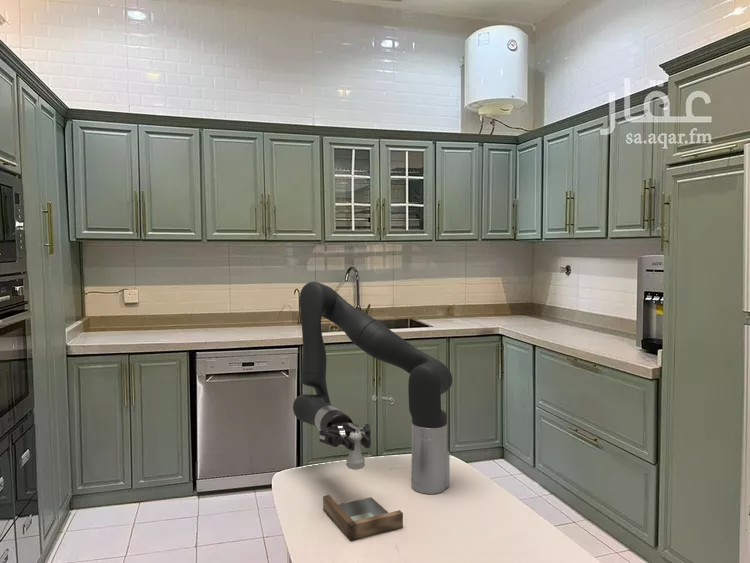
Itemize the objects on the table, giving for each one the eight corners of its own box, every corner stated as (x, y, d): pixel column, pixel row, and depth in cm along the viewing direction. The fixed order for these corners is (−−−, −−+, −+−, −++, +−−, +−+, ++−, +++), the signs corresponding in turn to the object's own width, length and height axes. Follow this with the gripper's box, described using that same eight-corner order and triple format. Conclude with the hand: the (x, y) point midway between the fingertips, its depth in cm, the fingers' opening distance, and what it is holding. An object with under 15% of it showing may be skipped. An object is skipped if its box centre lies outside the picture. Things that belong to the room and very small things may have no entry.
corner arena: (371, 499, 137) (371, 485, 137) (402, 528, 123) (402, 512, 123) (323, 510, 131) (323, 495, 131) (350, 541, 117) (350, 525, 117)
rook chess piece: (362, 471, 126) (362, 436, 125) (343, 469, 127) (343, 435, 126) (366, 463, 130) (367, 430, 130) (348, 461, 131) (348, 429, 131)
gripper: (307, 412, 137) (332, 433, 122) (358, 406, 144) (388, 425, 128) (307, 441, 138) (332, 466, 122) (357, 434, 144) (387, 456, 129)
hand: (360, 445), depth 125 cm, fingers closed on rook chess piece, 3 cm apart
